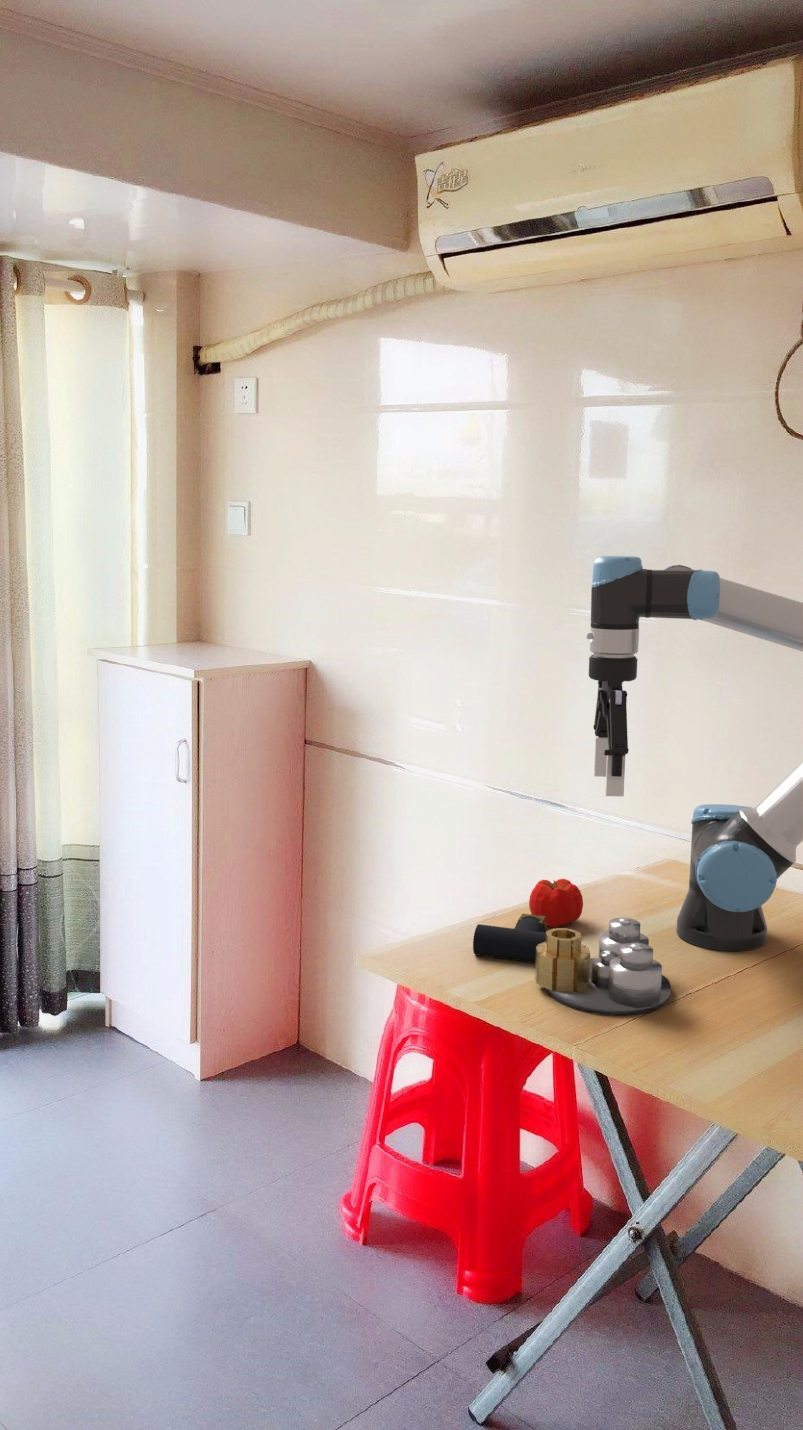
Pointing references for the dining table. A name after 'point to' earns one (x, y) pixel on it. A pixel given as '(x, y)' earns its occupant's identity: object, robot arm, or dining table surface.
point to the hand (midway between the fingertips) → (608, 785)
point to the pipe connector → (511, 939)
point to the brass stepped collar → (562, 961)
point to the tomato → (556, 902)
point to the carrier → (621, 975)
